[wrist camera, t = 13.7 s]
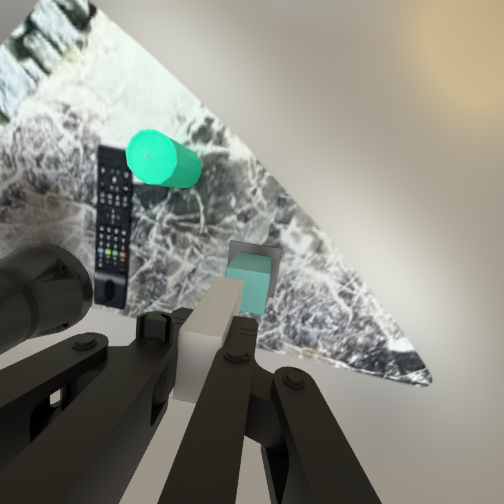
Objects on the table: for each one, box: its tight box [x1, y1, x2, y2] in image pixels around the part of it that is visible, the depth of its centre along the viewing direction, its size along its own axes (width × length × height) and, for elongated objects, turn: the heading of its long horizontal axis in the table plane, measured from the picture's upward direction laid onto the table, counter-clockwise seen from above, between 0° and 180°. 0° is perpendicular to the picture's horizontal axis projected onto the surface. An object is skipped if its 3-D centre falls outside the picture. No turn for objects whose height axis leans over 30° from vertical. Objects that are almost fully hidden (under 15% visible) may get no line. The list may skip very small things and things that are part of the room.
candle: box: [126, 130, 201, 188], centre depth 34 cm, size 6×6×12 cm
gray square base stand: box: [226, 240, 282, 298], centre depth 37 cm, size 8×8×10 cm
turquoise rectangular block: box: [226, 252, 271, 315], centre depth 37 cm, size 5×5×10 cm
